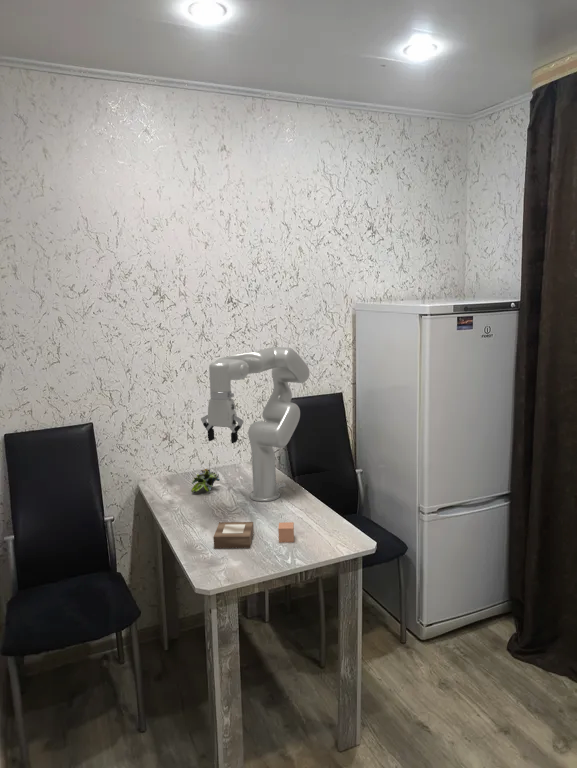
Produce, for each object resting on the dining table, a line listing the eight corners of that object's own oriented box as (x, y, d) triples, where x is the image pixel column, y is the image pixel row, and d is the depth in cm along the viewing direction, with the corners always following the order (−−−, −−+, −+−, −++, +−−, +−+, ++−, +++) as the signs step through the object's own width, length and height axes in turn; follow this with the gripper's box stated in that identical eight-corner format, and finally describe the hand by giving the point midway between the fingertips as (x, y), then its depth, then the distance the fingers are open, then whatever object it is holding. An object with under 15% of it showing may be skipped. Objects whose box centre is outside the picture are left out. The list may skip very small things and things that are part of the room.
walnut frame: (219, 533, 198) (219, 521, 197) (253, 532, 197) (253, 521, 196) (214, 548, 186) (213, 536, 185) (250, 548, 185) (249, 536, 185)
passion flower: (207, 500, 245) (219, 475, 248) (214, 503, 235) (227, 477, 238) (184, 489, 241) (197, 463, 244) (190, 492, 231) (204, 465, 234)
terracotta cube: (279, 536, 194) (279, 522, 193) (294, 536, 194) (293, 522, 193) (278, 542, 189) (278, 528, 188) (293, 542, 189) (293, 528, 188)
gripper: (246, 395, 204) (248, 440, 207) (205, 393, 211) (207, 437, 214) (236, 398, 198) (238, 445, 200) (194, 396, 204) (197, 442, 207)
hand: (222, 441), depth 207 cm, fingers open, 9 cm apart
